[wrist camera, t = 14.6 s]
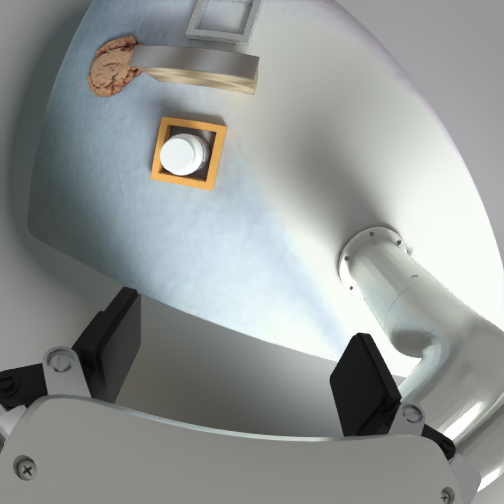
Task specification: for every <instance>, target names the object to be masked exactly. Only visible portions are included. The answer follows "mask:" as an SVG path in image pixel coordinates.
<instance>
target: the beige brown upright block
mask: <svg viewBox="0 0 504 504" xmlns="http://www.w3.org/2000/svg"><path fill="white" fill-rule="evenodd" d="M258 62H259V57H256V56H251V55H246V54H240V53H234V52H227V51H220V50H212V49H203V48H192V47H178V46H135V47H134V50H133V53H132V56H131V60H130V63H129V66H130V67H136V68H138V69H140V70H141V71H143V72H145V73H146V74H148V75H150V76H151V77H153V78H155V79H156V80H158V81H160V82H173V83H183V84H192V85H200V86H208V87H214V88H221V89H227V90H232V91H238V92H243V93H248V94H253V95H254V92H255V89H256V85H257V77H258Z"/></svg>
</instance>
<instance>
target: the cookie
mask: <svg viewBox="0 0 504 504" xmlns="http://www.w3.org/2000/svg"><path fill="white" fill-rule="evenodd" d="M135 46H144V45H143V44H138V42H137V40H136V39H135V37H133V36H126V37H123V38H119V39H115V40H112V41H110V42H108V43H106V44H105V45H103V46H102V47H101V48H99V50H98V51H97V52H96V55H95V60H94V62H93V64H92V66H91V69H90V74H89V76H88V83H89V86H90V88H91V90H92V91H93V93H95V94H96V95H98V96H101V97H109V96H112V95H114V94H115V93H118V92H120V91H122V86H124V87H125V86H126V85H127V84H128V83H129V81H131V80H132V79H133V78H134V77H136V76H138V75H139V74H140V73H142V71H141V70H140V69H138V68H136V67H130V66H129V63H130V60H131V56H132V53H133V50H134V47H135Z"/></svg>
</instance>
